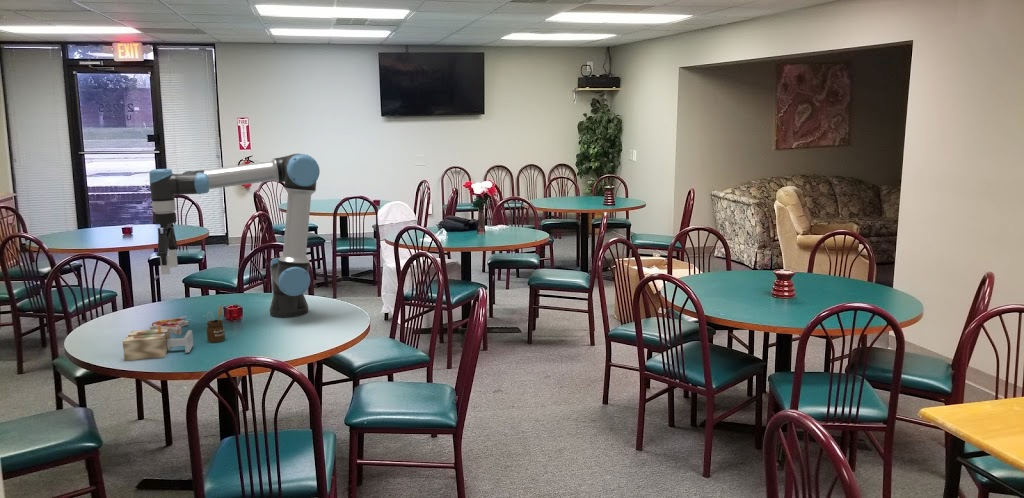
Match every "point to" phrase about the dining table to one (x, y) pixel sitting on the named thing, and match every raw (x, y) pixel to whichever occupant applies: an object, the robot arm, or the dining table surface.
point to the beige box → (146, 344)
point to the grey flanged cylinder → (180, 340)
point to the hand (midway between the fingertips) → (169, 270)
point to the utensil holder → (215, 329)
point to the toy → (171, 325)
